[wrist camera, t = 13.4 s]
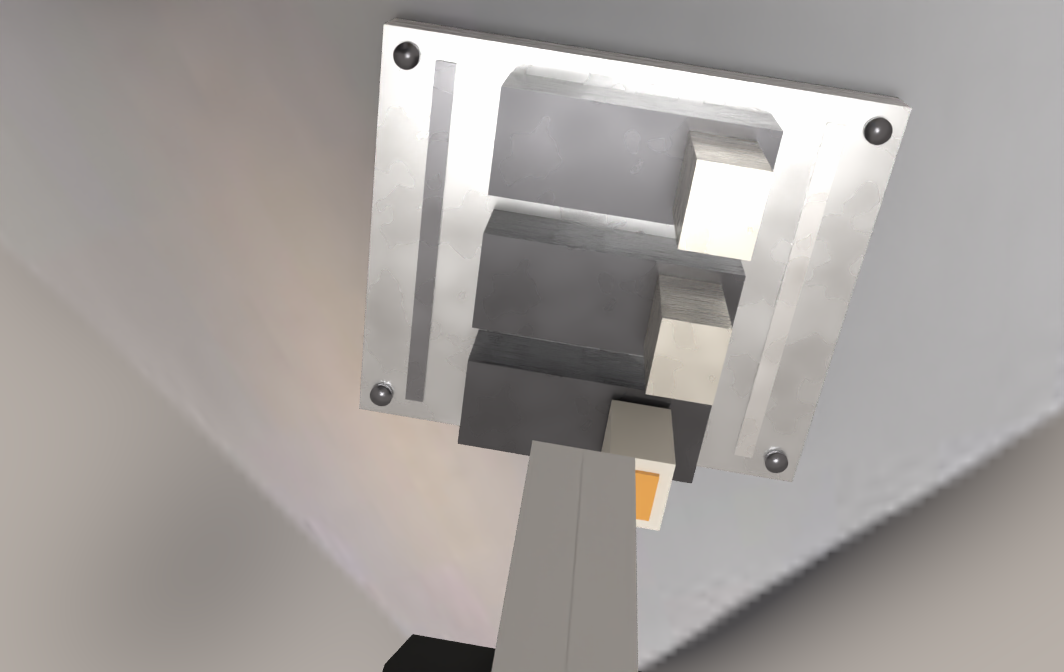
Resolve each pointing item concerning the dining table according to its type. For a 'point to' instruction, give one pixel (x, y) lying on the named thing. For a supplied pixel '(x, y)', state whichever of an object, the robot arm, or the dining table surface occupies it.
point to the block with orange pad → (644, 454)
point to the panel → (477, 204)
